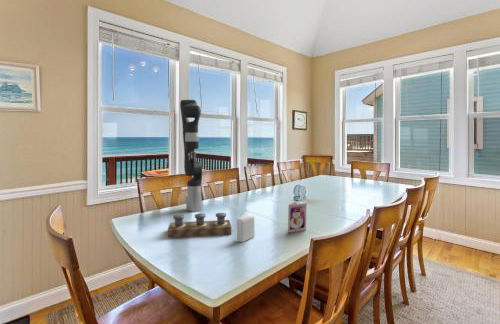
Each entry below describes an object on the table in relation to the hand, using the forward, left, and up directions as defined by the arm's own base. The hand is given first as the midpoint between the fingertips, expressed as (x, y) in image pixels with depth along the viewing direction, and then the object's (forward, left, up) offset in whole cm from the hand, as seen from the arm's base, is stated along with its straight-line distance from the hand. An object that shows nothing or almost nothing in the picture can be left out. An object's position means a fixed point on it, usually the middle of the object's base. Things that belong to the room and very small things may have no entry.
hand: (192, 170), depth 154 cm
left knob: (+3, -18, -27) cm, 32 cm away
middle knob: (+12, -12, -27) cm, 32 cm away
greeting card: (+58, +10, -31) cm, 67 cm away
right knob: (+22, -7, -27) cm, 35 cm away
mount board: (+12, -12, -31) cm, 35 cm away
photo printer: (+38, -12, -31) cm, 51 cm away
